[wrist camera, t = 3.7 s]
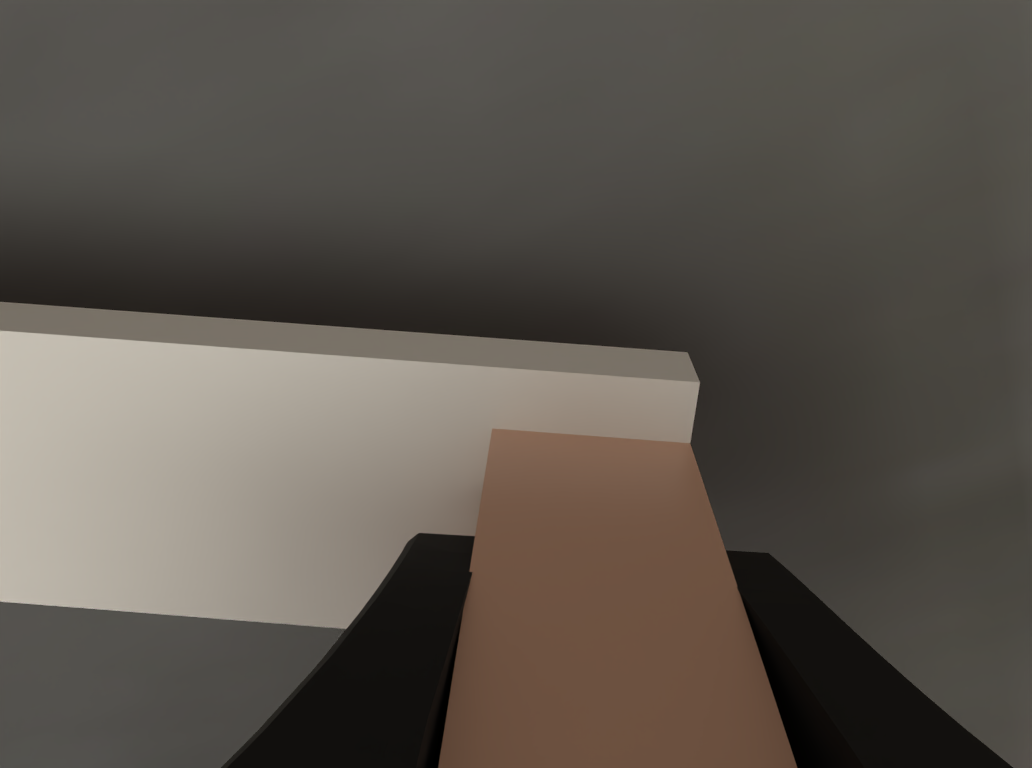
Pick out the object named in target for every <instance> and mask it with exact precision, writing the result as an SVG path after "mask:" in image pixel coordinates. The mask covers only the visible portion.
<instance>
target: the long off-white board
mask: <svg viewBox="0 0 1032 768" xmlns="http://www.w3.org/2000/svg"><path fill="white" fill-rule="evenodd" d="M699 386H700V381H699V379H698V376H697V374H696V372H695V369H694V367H693V364H692V362H691V360H690V357H689V355H688V352H677V351H663V350H650V349H636V348H622V347H609V346H595V345H582V344H568V343H554V342H541V341H527V340H514V339H500V338H486V337H473V336H459V335H445V334H432V333H418V332H405V331H391V330H377V329H364V328H350V327H337V326H323V325H309V324H296V323H282V322H268V321H255V320H241V319H228V318H214V317H200V316H187V315H173V314H159V313H146V312H132V311H119V310H105V309H91V308H78V307H64V306H51V305H37V304H23V303H10V302H0V602H13V603H26V604H38V605H51V606H64V607H76V608H89V609H102V610H114V611H127V612H140V613H152V614H165V615H177V616H190V617H203V618H215V619H228V620H241V621H253V622H266V623H279V624H291V625H304V626H317V627H329V628H342V629H347V628H348V626H349V625H350V624H351V623H352V621H353V620H354V619H355V618H356V616H357V615H358V614H359V613H360V611H361V610H362V609H363V607H364V606H365V605H366V603H367V602H368V601H369V599H370V598H371V596H372V595H373V594H374V592H375V591H376V590H377V588H378V587H379V586H380V584H381V583H382V581H383V580H384V578H385V577H386V575H387V574H388V573H389V571H390V570H391V568H392V566H393V565H394V563H395V562H396V560H397V559H398V557H399V556H400V554H401V552H402V551H403V549H404V547H405V545H406V544H407V542H408V541H409V540H410V539H412V538H413V537H414V536H415V535H417V534H418V533H430V534H448V535H465V536H475V539H474V546H473V552H472V558H471V564H470V571H469V572H472V576H471V580H470V584H469V588H468V592H467V596H466V600H465V604H464V608H463V615H462V621H461V627H460V634H459V640H458V646H457V652H456V659H455V665H454V671H453V678H452V684H451V690H450V696H449V703H448V709H447V715H446V722H445V728H444V734H443V740H442V747H441V753H440V759H439V766H438V768H797V765H796V762H795V759H794V756H793V753H792V750H791V747H790V744H789V741H788V738H787V735H786V732H785V729H784V726H783V723H782V720H781V717H780V714H779V710H778V707H777V704H776V701H775V698H774V695H773V692H772V689H771V686H770V683H769V680H768V677H767V674H766V671H765V668H764V665H763V662H762V659H761V656H760V653H759V650H758V647H757V644H756V641H755V638H754V635H753V632H752V629H751V626H750V623H749V620H748V617H747V614H746V611H745V608H744V605H743V602H742V599H741V596H740V593H739V591H738V589H737V587H738V586H737V583H736V580H735V577H734V574H733V571H732V568H731V565H730V562H729V559H728V556H727V553H726V550H725V547H724V544H723V541H722V538H721V535H720V532H719V529H718V526H717V523H716V520H715V517H714V514H713V511H712V508H711V505H710V502H709V499H708V496H707V493H706V490H705V487H704V484H703V481H702V478H701V474H700V471H699V468H698V465H697V462H696V459H695V456H694V453H693V450H692V447H691V444H690V441H691V435H692V429H693V423H694V417H695V410H696V404H697V398H698V392H699Z"/></svg>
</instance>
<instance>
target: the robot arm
mask: <svg viewBox="0 0 1032 768" xmlns="http://www.w3.org/2000/svg"><path fill="white" fill-rule="evenodd" d="M474 539H475V536H465V535H448V534H430V533H418V534H417V535H415V536H414V537H413V538H412V539H410V540H409V541H408V542H407V544H406V545H405V547H404V549H403V551H402V552H401V554H400V556H399V557H398V559H397V560H396V562H395V563H394V565H393V566H392V568H391V570H390V571H389V573H388V574H387V575H386V577H385V578H384V580H383V581H382V583H381V584H380V586H379V587H378V588H377V590H376V591H375V592H374V594H373V595H372V596H371V598H370V599H369V601H368V602H367V603H366V605H365V606H364V607H363V609H362V610H361V611H360V613H359V614H358V615H357V616H356V618H355V619H354V620H353V621H352V623H351V624H350V625H349V626H348V628H347V629H346V630H345V631H344V633H343V634H342V635H341V636H340V638H339V639H338V640H337V641H336V643H335V644H334V645H333V646H332V648H331V649H330V650H329V651H328V653H327V654H326V655H325V656H324V658H323V659H322V660H321V661H320V662H319V664H318V665H317V666H316V667H315V668H314V669H313V671H312V672H311V673H310V674H309V675H308V676H307V677H306V678H305V679H304V681H303V682H302V683H301V684H300V685H299V686H298V687H297V688H296V689H295V690H294V692H293V693H292V694H291V695H290V696H289V697H288V698H287V699H286V700H285V701H284V703H283V704H282V705H281V706H280V707H279V708H278V709H277V710H276V711H275V712H274V714H273V715H272V716H271V717H270V718H269V719H268V720H267V721H266V722H265V723H264V725H263V726H262V727H261V728H260V729H259V730H258V731H257V732H256V733H255V734H254V735H253V736H252V737H251V738H250V739H249V740H248V741H247V742H246V743H245V744H244V745H243V746H242V747H241V748H240V749H239V750H238V751H237V752H236V753H235V754H234V755H233V756H232V757H231V758H230V759H229V760H228V761H227V762H226V763H225V764H224V765H223V766H222V767H221V768H438V766H439V759H440V753H441V747H442V740H443V734H444V728H445V722H446V715H447V709H448V703H449V696H450V690H451V684H452V678H453V671H454V665H455V659H456V652H457V646H458V640H459V634H460V627H461V621H462V615H463V608H464V604H465V600H466V596H467V592H468V588H469V584H470V580H471V576H472V572H469V571H470V564H471V558H472V552H473V546H474ZM726 553H727V556H728V559H729V562H730V565H731V568H732V571H733V574H734V577H735V580H736V583H737V586H738V587H737V589H738V591H739V593H740V596H741V599H742V602H743V605H744V608H745V611H746V614H747V617H748V620H749V623H750V626H751V629H752V632H753V635H754V638H755V641H756V644H757V647H758V650H759V653H760V656H761V659H762V662H763V665H764V668H765V671H766V674H767V677H768V680H769V683H770V686H771V689H772V692H773V695H774V698H775V701H776V704H777V707H778V710H779V714H780V717H781V720H782V723H783V726H784V729H785V732H786V735H787V738H788V741H789V744H790V747H791V750H792V753H793V756H794V759H795V762H796V765H797V768H1013V767H1012V766H1010V765H1009V764H1008V763H1007V762H1005V761H1004V760H1003V759H1002V758H1001V757H999V756H998V755H997V754H996V753H994V752H993V751H992V750H991V749H989V748H988V747H987V746H986V745H984V744H983V743H982V742H981V741H979V740H978V739H977V738H976V737H975V736H973V735H972V734H971V733H970V732H968V731H967V730H966V729H965V728H963V727H962V726H961V725H960V724H959V723H957V722H956V721H955V720H954V719H953V718H952V717H950V716H949V715H948V714H947V713H946V712H945V711H943V710H942V709H941V708H940V707H939V706H937V705H936V704H935V703H934V702H933V701H932V700H930V699H929V698H928V697H927V696H926V695H925V694H924V693H922V692H921V691H920V690H919V689H918V688H917V687H915V686H914V685H913V684H912V683H911V682H910V681H909V680H907V679H906V678H905V677H904V676H903V675H902V674H901V673H900V672H899V671H897V670H896V669H895V668H894V667H893V666H892V665H891V664H890V663H888V662H887V661H886V660H885V659H884V658H883V657H882V656H881V655H880V654H878V653H877V652H876V651H875V650H874V649H873V648H872V647H871V646H870V645H869V644H867V643H866V642H865V641H864V640H863V639H862V638H861V637H860V636H859V635H858V634H857V633H855V632H854V631H853V630H852V629H851V628H850V627H849V626H848V625H847V624H846V623H845V622H844V621H842V620H841V619H840V618H839V617H838V616H837V615H836V614H835V613H834V612H833V611H832V610H831V609H830V608H828V607H827V606H826V605H825V604H824V603H823V602H822V601H821V600H820V599H819V598H818V597H817V596H816V595H815V594H813V593H812V592H811V591H810V590H809V589H808V588H807V587H806V586H805V585H804V584H803V583H802V582H801V581H799V580H798V579H797V578H796V577H795V576H794V575H793V574H792V573H791V572H790V571H788V570H787V569H786V568H785V567H784V566H783V565H782V564H781V563H779V562H778V561H777V560H776V559H775V558H773V557H772V556H771V555H770V554H769V553H758V552H741V551H726Z"/></svg>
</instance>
